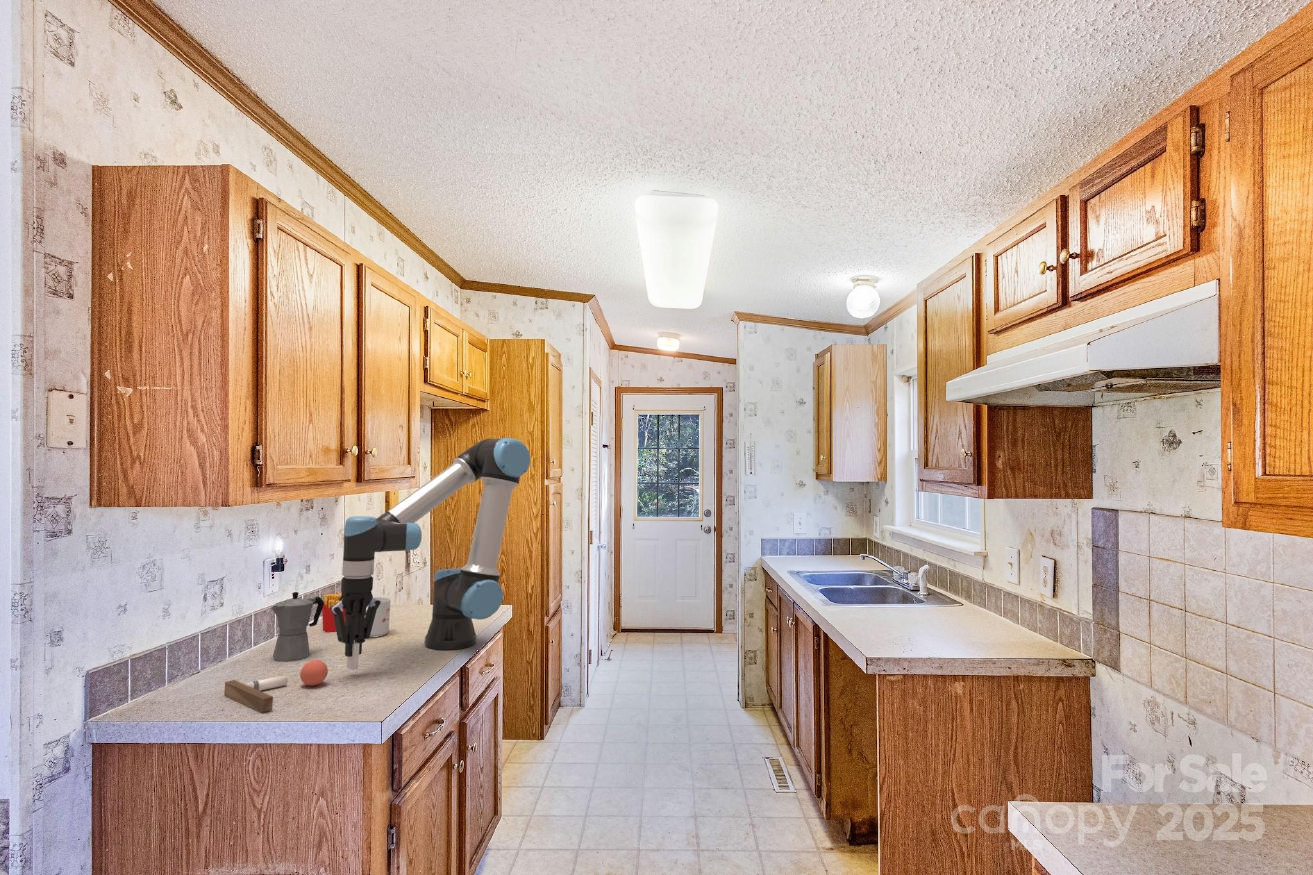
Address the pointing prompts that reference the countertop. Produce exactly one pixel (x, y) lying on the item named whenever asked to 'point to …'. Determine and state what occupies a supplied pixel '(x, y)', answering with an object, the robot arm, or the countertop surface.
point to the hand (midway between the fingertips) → (352, 668)
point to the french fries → (327, 614)
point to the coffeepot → (294, 627)
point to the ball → (313, 672)
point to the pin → (268, 683)
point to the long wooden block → (248, 696)
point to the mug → (381, 617)
